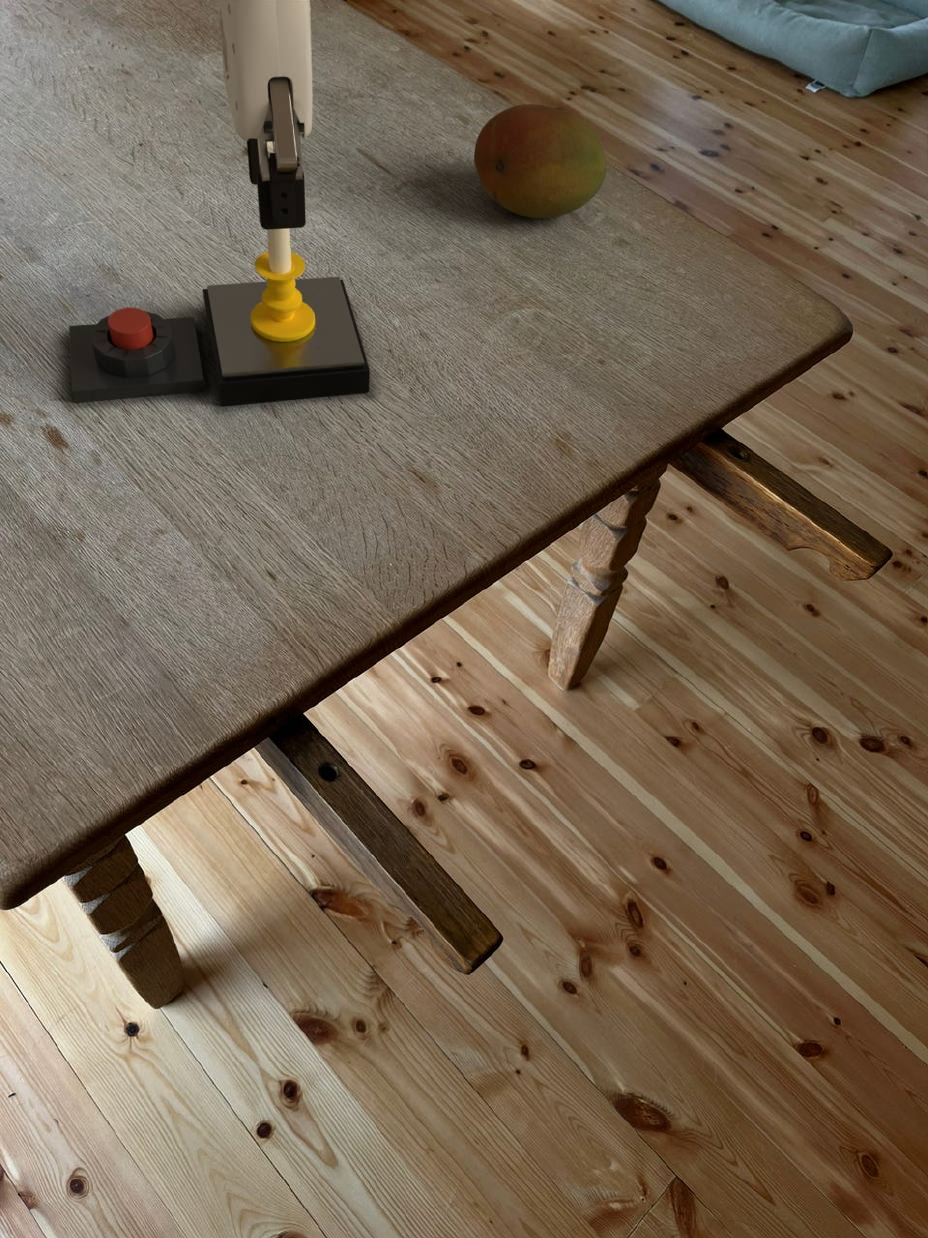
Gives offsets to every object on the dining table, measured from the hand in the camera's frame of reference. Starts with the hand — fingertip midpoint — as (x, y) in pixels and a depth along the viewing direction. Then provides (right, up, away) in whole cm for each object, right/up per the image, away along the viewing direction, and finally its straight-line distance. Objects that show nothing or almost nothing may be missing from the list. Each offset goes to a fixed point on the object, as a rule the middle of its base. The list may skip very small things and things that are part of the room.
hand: (277, 201), depth 74 cm
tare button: (-13, -8, +6) cm, 16 cm away
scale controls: (-13, -10, +8) cm, 18 cm away
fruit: (+21, +11, +28) cm, 37 cm away
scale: (-1, -8, +11) cm, 14 cm away
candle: (-1, -6, +9) cm, 11 cm away
